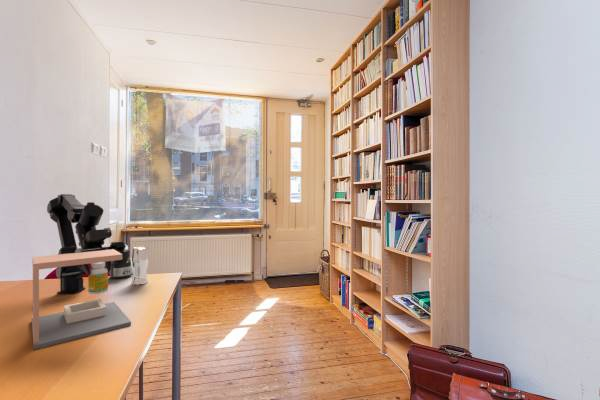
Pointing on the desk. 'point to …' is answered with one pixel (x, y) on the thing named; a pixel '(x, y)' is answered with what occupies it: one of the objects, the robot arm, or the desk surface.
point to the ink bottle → (121, 266)
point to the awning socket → (75, 316)
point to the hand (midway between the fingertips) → (99, 272)
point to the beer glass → (139, 264)
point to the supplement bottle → (98, 278)
